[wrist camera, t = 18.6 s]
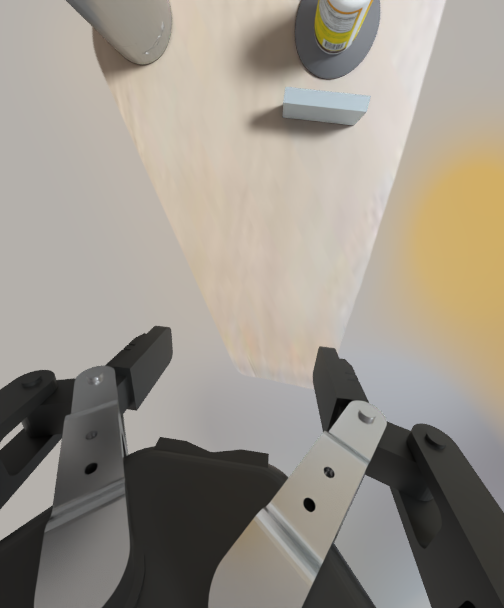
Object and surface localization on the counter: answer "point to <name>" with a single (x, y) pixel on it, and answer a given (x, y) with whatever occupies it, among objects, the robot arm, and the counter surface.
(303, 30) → the resting mat
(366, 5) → the supplement bottle
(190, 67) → the counter surface
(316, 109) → the low wall
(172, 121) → the counter surface
